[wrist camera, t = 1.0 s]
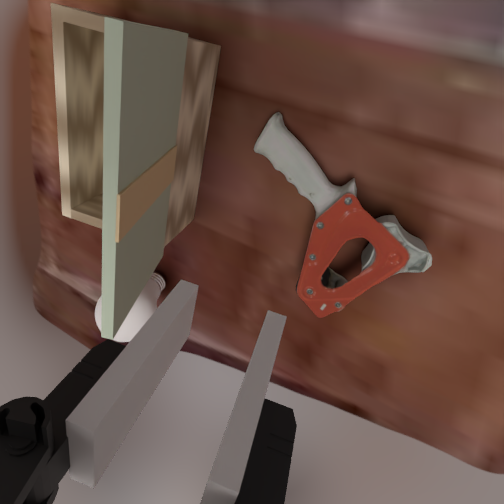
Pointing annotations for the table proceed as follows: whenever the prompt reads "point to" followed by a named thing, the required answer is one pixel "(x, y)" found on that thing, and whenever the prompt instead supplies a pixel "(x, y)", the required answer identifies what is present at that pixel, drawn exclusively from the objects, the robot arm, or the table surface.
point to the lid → (137, 157)
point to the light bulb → (137, 309)
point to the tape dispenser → (338, 228)
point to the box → (92, 112)
